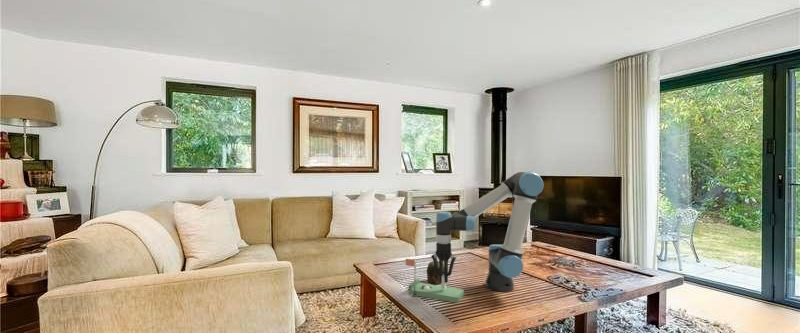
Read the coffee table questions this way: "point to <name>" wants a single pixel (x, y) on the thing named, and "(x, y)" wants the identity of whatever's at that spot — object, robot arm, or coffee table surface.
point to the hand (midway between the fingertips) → (443, 288)
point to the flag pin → (413, 263)
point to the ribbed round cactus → (433, 273)
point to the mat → (436, 292)
